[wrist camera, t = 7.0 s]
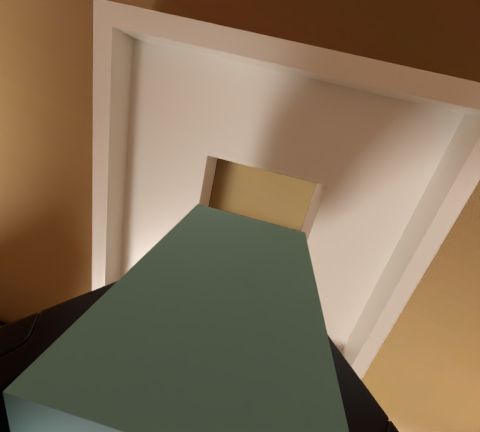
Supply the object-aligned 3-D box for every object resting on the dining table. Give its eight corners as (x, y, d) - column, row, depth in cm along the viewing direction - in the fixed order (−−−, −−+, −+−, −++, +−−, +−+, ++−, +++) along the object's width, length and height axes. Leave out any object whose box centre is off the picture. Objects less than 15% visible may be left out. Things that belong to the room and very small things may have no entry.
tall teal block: (275, 317, 10) (264, 634, 4) (183, 291, 11) (32, 548, 4) (304, 232, 9) (366, 511, 3) (197, 203, 9) (3, 391, 3)
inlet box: (337, 340, 18) (351, 396, 14) (128, 279, 19) (91, 316, 15) (455, 102, 12) (530, 93, 9) (145, 32, 13) (93, -3, 10)
